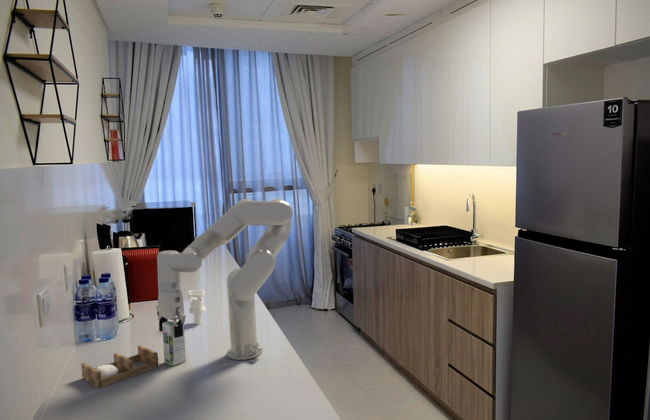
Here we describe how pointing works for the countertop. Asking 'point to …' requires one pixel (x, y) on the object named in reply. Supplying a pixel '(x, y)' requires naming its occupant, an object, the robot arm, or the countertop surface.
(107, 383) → the rack
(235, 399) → the countertop surface
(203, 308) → the white slotted cylinder
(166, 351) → the syrup box
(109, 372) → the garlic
